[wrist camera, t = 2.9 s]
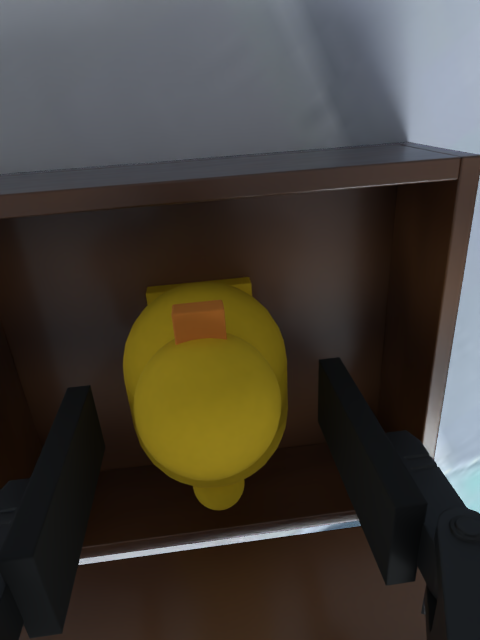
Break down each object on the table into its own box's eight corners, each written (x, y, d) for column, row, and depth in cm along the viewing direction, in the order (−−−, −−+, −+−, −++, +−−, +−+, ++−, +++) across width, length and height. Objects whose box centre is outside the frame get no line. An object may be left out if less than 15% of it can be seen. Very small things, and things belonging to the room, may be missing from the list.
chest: (-56, 178, 17) (-144, 206, 13) (409, 141, 19) (484, 154, 14) (45, 478, 24) (11, 568, 19) (382, 436, 25) (426, 511, 21)
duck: (272, 412, 23) (325, 601, 14) (153, 426, 23) (133, 630, 14) (265, 229, 19) (333, 337, 10) (119, 242, 18) (60, 367, 10)
